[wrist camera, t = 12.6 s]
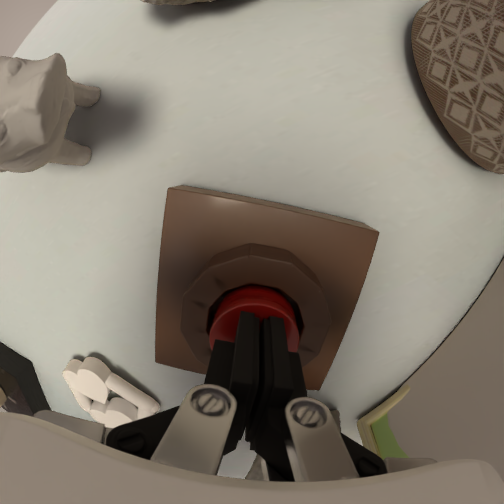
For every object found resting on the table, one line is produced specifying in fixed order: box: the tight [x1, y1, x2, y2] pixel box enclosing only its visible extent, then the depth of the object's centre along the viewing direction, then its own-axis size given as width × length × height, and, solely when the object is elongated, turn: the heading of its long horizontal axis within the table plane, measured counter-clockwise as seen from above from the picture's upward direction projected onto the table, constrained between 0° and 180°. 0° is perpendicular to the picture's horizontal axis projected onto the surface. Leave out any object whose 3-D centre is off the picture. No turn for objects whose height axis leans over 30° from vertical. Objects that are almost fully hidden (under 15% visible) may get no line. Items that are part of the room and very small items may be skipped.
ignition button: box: [209, 286, 299, 352], centre depth 11 cm, size 4×4×2 cm
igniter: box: [155, 185, 379, 390], centre depth 13 cm, size 10×10×4 cm
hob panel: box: [0, 342, 51, 417], centre depth 18 cm, size 14×11×3 cm
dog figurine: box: [0, 53, 101, 173], centre depth 8 cm, size 5×13×11 cm, turn 82°
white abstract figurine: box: [62, 357, 160, 428], centre depth 18 cm, size 9×12×2 cm
